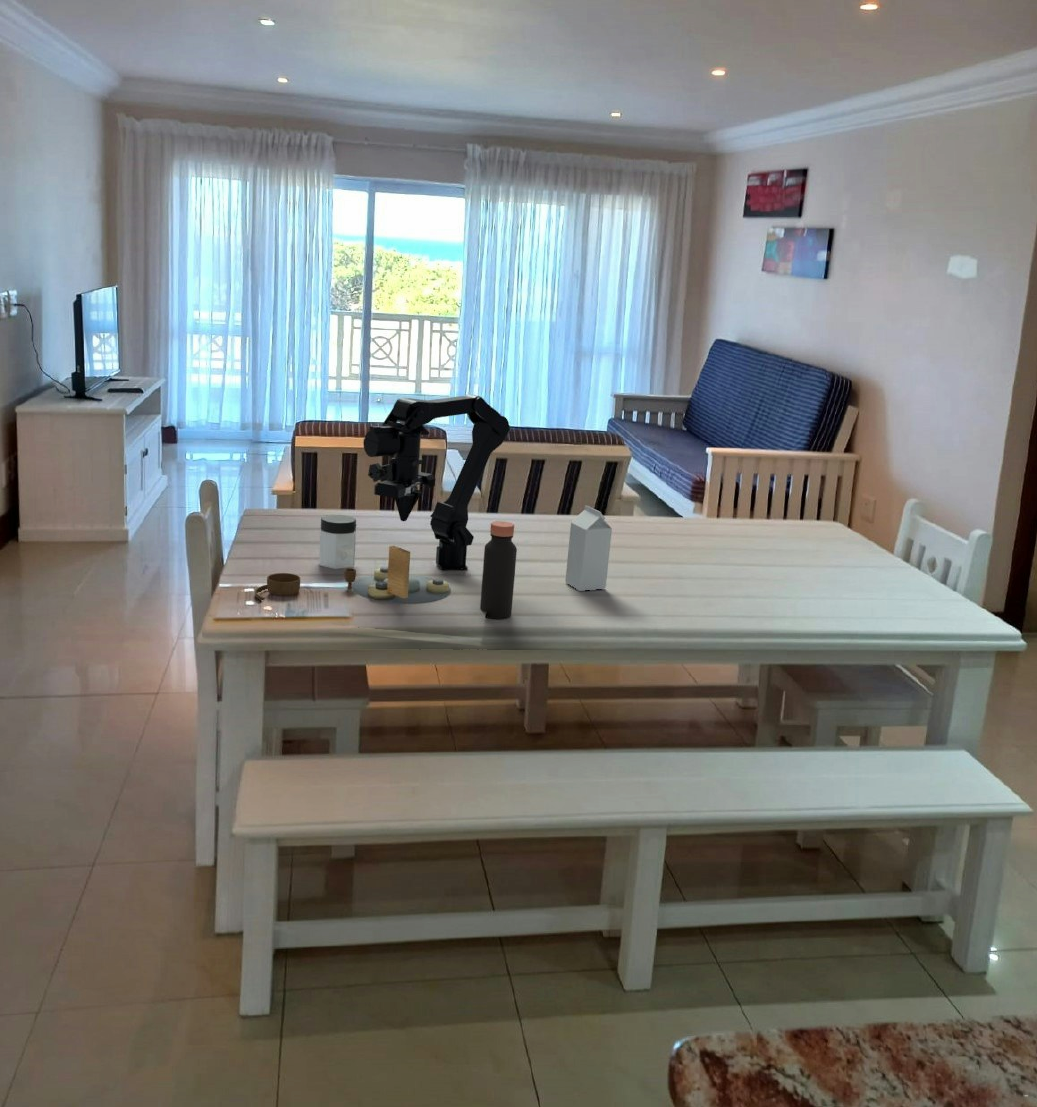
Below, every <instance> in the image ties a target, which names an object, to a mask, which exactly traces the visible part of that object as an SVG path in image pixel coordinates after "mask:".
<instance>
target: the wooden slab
mask: <svg viewBox="0 0 1037 1107" xmlns="http://www.w3.org/2000/svg"><path fill="white" fill-rule="evenodd" d="M388 548H389V549H388V563H387V565H388V581H387V582H376V584H373V585H370V586H368V594H367V595H368V596H369V597H371V598H374V599H381V600H385V599H392V598H394V597H395V596H398V597H401V598H403V599H404V598H408V585H409V574H410V566H411V564H410V563H411V551H409V550H407V549H404V548H401V547H398V546H395V545H389V547H388Z"/></svg>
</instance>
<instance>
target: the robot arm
mask: <svg viewBox="0 0 1037 1107" xmlns="http://www.w3.org/2000/svg"><path fill="white" fill-rule="evenodd" d="M460 415H467V418H468V420H469V421H470V422H471V423H472V424H473V427H472V431H471V438H472V439H471V440H472V445H471V447H470V450H469V452H468V454H467V457H466V458H465V461H464V463H463V465H462V468H461V470H460V472H459V475H458V476H457V479H456V481H455V483H454V485H453V488H452V490H451V493H450V494H449V497H448V498H447V499H446V500H445V501H444V502H442V501H441V502H440V501H437V502H436V504H435V506H434V510H433V512H432V513H431V515H430V518H431V519H430V524H429V525H430V527H431V530H432V532H433V535H434V539H436V540H438V546H436V552H435V553H436V554H435V563H436V565H437V566H438V567H439V568H440V569H441V570H442V571H444V570H445V571H446V570H447V571H448V570H449V571H450V570H452V571H453V570H457V571H458V570H469V569H468V568H469V567H468V566H467V564H466V563H467V554H468V552H467V550H468V546H471V545H472V544H473V541H474V539H475V536H474V535H473V534H472V533H471V531H470V530H469V529H468V528H467V525H468V521H469V512H468V510H469V509H468V507H469V504H470V503H471V499H472V497H473V496H474V493H475V490H476V489H477V486H478V483H479V481H480V479H481V477H482V475H483V472H484V470H485V468H486V466H487V463H488V461H489V459H490V457H491V454H492V453H493V452H494V451H495V450H496V449H498V448H499V447H500V446H501V445H502V444H503V442H504V441H505V440H506V438H507V436H508V435H509V432H510V429H511V426H510V423H509V420H508V419H507V417H505V416H504V415H501V413H500V412H498V411H497V410H496V409H495V408H493V407H492V406H491V405H490V404H488V403H487V401H486V400H485V399H484V398H483V397H482V396H480V395H476V394H471V393H467V394H464V395H460V396H451V397H444V398H436V399H428V400H427V399H418V398H412V397H411V398H410V397H400V398H398V399H397V400H395V403H394V405H393V407H392V409H391V411H390V412H389V414H388V415H387V417H386V419H385V420H384V421H383V423H382V425H380V426H377V425H370V426H369V431H368V432H366V433H365V436H364V438H363V443H362V444H363V449H364V452H365V454H366V456H368V457H369V458H376V457H377V458H378V457H391V456H394V457H391V458H390V459H389V464H385V465H381V464H380V463H379V462H377V463H373V464H369V467H368V474H367V476H368V477H370V478H371V479H372V482H373V483H376V484H375V485H374V486H373V494H374V496H381V497H385V498H391V499H394V501H395V504H396V508H397V511H398V515H399V519H400V521H401V522H406V521H407V520H408V518H409V516H410V515H411V513H412V511H413V509H414V507H415V505H416V504H417V502H418V501H419V499H420V497H421V495H422V494H423V493H424V491H423V490H420V489H419V487H418V486H419V485H426V487H427V488H428V489H429V488H433V487H436V477H435V476H434V475H433V474H432V473H429V472H428V473H427V472H423V471H420V465H422V464H423V463H424V459H423V458H420V457H421V439H422V436H428V435H429V434H430V432H429V431H428V429H426V427H425V426H424V425H427V424H430V423H431V422H432V421H434V420H435V419H438V418H445V417H452V416H460ZM378 481H379V482H378Z"/></svg>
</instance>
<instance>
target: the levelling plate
mask: <svg viewBox="0 0 1037 1107" xmlns="http://www.w3.org/2000/svg"><path fill="white" fill-rule="evenodd" d="M387 581H388V567H387V566H383V567H380V568H376V569H374V573H373V574H372V575H367V576H363V577H361V578H360V577H359V578H358V579H355V581H354V582H352V585H351V587H352V589H351V590H352V591H353V592H354V593H355V594H356V595H359V596H360V597H362V598H366V599H369V600H372V601H375V602H382V603H388V604H389V603H390V604H398V605H401V604H403V605H416V604H417V605H419V604H428V603H429V604H430V603H435V602H437V601H442V600H443V599H446V598H448V597H449V596H450V595H451V593H452V590H451V587H450V583H449V582H448V581H445V580H443V579H440V578H439V579H438V578H437V579H436V578H432V577H428V576H425V575H424V576H423V575H417V574H411V573H409V585H408V598H404V599H403V598H401V597H398V596H395V597H394V598H392V599H385V600H381V599H374V598H371V597H369V596H368V595H367V594H368V586H370V585H373V584H376V582H387Z"/></svg>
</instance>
